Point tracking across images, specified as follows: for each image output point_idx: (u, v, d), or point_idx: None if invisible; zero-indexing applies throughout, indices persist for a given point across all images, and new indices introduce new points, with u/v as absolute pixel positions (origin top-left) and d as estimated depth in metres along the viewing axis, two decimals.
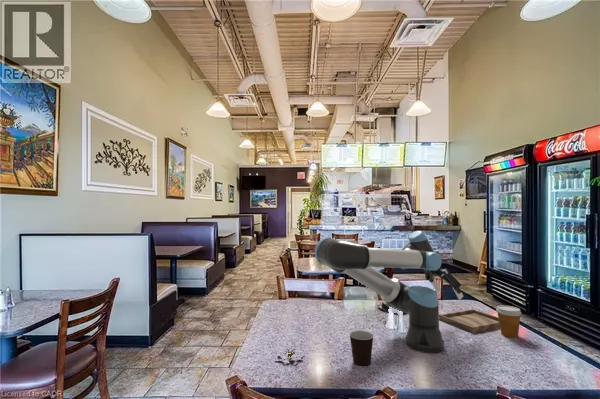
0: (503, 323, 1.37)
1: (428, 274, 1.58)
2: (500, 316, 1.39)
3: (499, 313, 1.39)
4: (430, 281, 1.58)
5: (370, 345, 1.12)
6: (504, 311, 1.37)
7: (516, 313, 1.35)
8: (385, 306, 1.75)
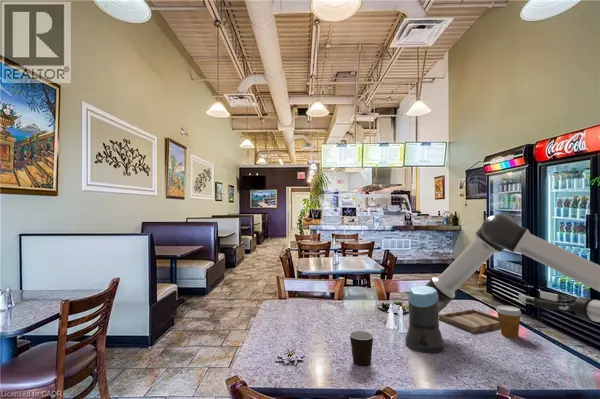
0: (503, 323, 1.37)
1: None
2: (500, 316, 1.39)
3: (499, 313, 1.39)
4: (559, 295, 1.27)
5: (370, 345, 1.12)
6: (504, 311, 1.37)
7: (516, 313, 1.35)
8: (385, 306, 1.75)
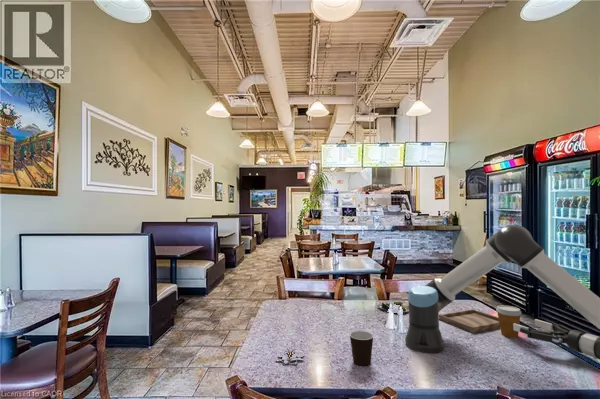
0: (503, 323, 1.37)
1: None
2: (500, 316, 1.39)
3: (499, 313, 1.39)
4: (554, 324, 1.29)
5: (370, 345, 1.12)
6: (504, 311, 1.37)
7: (516, 313, 1.35)
8: (385, 307, 1.75)
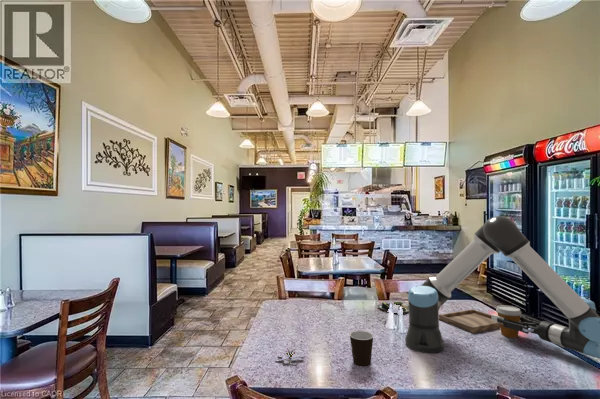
0: None
1: None
2: (500, 316, 1.39)
3: (499, 313, 1.39)
4: (521, 316, 1.39)
5: (370, 345, 1.12)
6: (504, 311, 1.37)
7: (516, 313, 1.35)
8: (385, 307, 1.75)
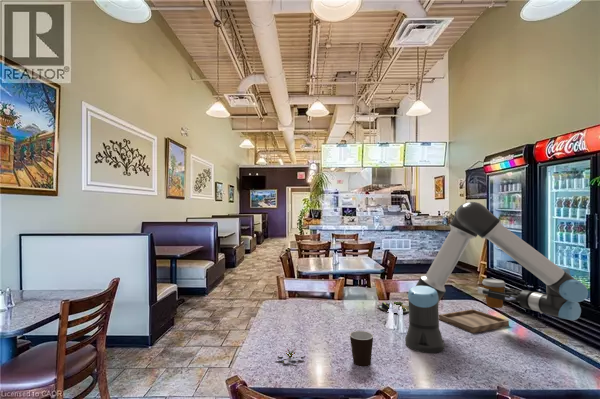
0: None
1: None
2: (485, 288, 1.47)
3: (484, 285, 1.47)
4: (506, 288, 1.46)
5: (370, 345, 1.12)
6: (489, 283, 1.45)
7: (500, 284, 1.43)
8: (385, 307, 1.75)
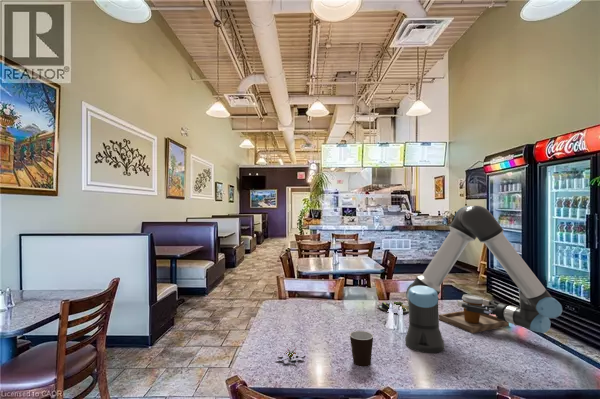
0: None
1: (497, 305, 1.52)
2: None
3: (464, 301, 1.54)
4: (490, 301, 1.55)
5: (370, 345, 1.12)
6: (468, 299, 1.51)
7: (479, 301, 1.50)
8: (385, 306, 1.75)
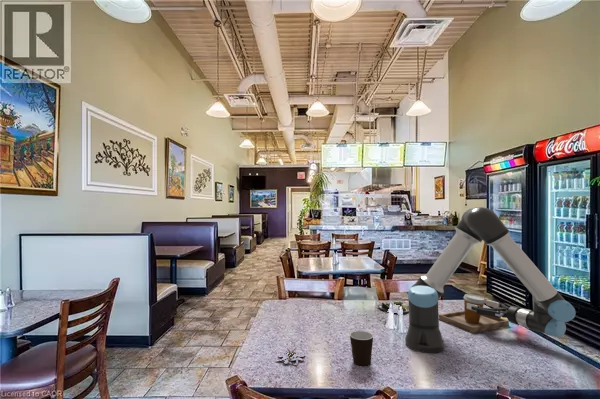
0: (468, 309, 1.52)
1: None
2: (466, 303, 1.53)
3: (465, 300, 1.53)
4: (500, 303, 1.50)
5: (370, 345, 1.12)
6: (470, 299, 1.51)
7: (480, 302, 1.49)
8: (385, 307, 1.75)
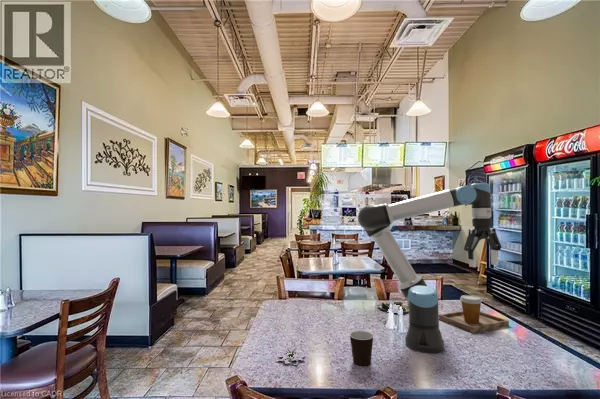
0: (466, 311, 1.52)
1: (494, 240, 1.40)
2: (463, 304, 1.53)
3: (463, 302, 1.53)
4: (492, 248, 1.41)
5: (370, 345, 1.12)
6: (467, 300, 1.51)
7: (477, 301, 1.50)
8: (385, 307, 1.75)
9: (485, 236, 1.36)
